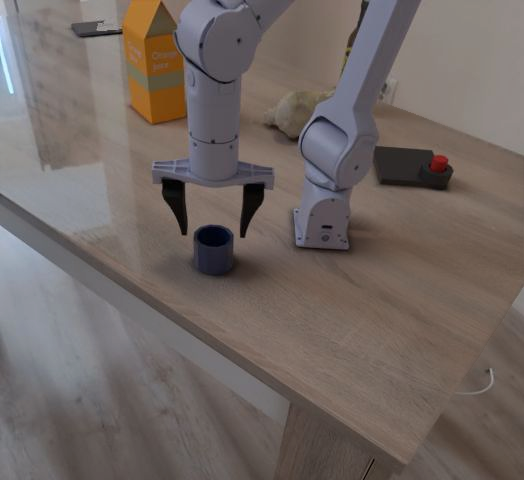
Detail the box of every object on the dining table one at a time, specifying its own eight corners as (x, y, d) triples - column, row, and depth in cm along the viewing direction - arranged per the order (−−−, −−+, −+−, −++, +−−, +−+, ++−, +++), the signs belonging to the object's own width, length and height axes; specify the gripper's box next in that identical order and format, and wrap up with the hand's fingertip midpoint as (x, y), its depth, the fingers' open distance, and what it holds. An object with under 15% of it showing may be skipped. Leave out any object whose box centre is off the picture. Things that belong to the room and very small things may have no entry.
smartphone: (69, 23, 122) (126, 17, 127) (70, 27, 123) (127, 22, 128) (78, 33, 118) (136, 27, 123) (79, 37, 119) (137, 31, 124)
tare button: (445, 173, 84) (450, 162, 82) (431, 172, 84) (435, 161, 82) (442, 166, 86) (446, 155, 84) (428, 164, 86) (432, 154, 84)
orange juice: (151, 124, 93) (139, 1, 77) (131, 106, 97) (115, -15, 82) (186, 116, 96) (181, -4, 81) (165, 99, 100) (157, -18, 85)
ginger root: (257, 151, 93) (319, 119, 83) (248, 112, 92) (309, 75, 82) (303, 151, 104) (362, 123, 94) (294, 116, 103) (354, 85, 93)
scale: (450, 192, 85) (456, 176, 83) (380, 187, 84) (385, 171, 82) (433, 156, 93) (439, 141, 91) (369, 151, 93) (373, 136, 90)
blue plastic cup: (232, 276, 66) (233, 250, 63) (192, 273, 66) (191, 247, 62) (233, 251, 70) (234, 225, 66) (196, 249, 69) (195, 223, 66)
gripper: (276, 119, 57) (266, 217, 67) (152, 111, 55) (161, 212, 66) (279, 148, 52) (268, 248, 62) (144, 140, 51) (156, 244, 61)
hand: (213, 232), depth 64 cm, fingers open, 7 cm apart
